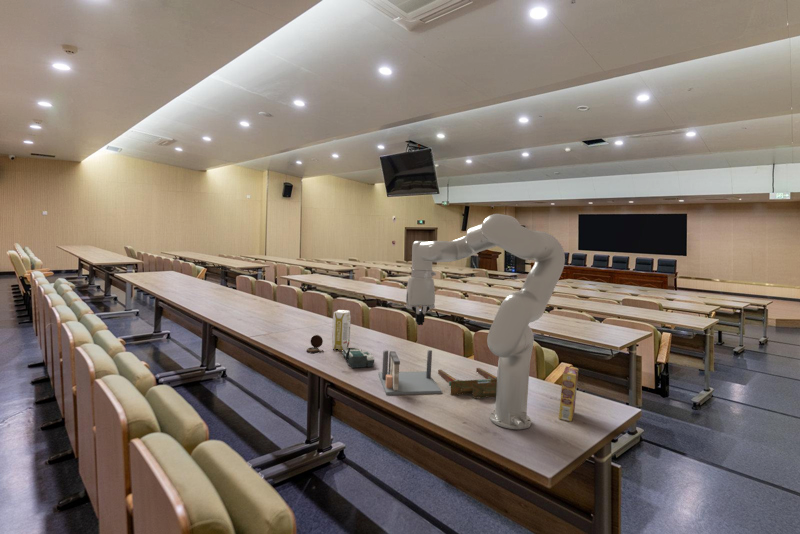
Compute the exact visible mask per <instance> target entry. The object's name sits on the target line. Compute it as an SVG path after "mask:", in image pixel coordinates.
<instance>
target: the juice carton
mask: <svg viewBox="0 0 800 534" xmlns="http://www.w3.org/2000/svg"><path fill="white" fill-rule="evenodd" d="M332 315H333V316H332V332H331V333H332V336H331V337H332V338H331V339H332V341H331V345H332V346H331V347H332V350H333V349H338V350H337V351H341V350H344V349H345V348H350V342H351V341H350V340H351V320H352V319H351V311H350V310H346V309H338V310H336V311H333V314H332Z"/></svg>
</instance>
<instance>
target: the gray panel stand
mask: <svg viewBox="0 0 800 534" xmlns="http://www.w3.org/2000/svg"><path fill="white" fill-rule="evenodd" d="M426 353H427V355H426V356H427V357H426V370H423V371H417V370H416V371H399V384H398V390H394V389H393V387H392V375H389V350H387V349H385V350H383V351H382V369H381V371H379V372H378V377H379V380H380V382H381V385H382V388H383V390H384V393H385V395H386V396H391V395H395V396H396V395H397V396H399V395H429V394H431V395H432V394H434V395H435V394H442V392H443V390H442V389H441V387H439V385H438V384H437V383H436V382H435V380H434V379H433V377H432V363H433V362H432V359H433V358H432V357H433V350H431V349H430V350H429V349H428V350H427V352H426Z"/></svg>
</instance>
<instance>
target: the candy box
mask: <svg viewBox="0 0 800 534" xmlns="http://www.w3.org/2000/svg"><path fill="white" fill-rule="evenodd" d="M578 377H579V368H577V367H574V366H573V367H572V366H565V368H564V371H563V373H562V381H561V391H560V399H559V400H560V402H559V411H558V419H560V420H562V421H566V422H572V421H573V417H574V415H575V412H576V411H575V409H576V399H577V388H578Z"/></svg>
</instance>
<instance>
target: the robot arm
mask: <svg viewBox="0 0 800 534" xmlns="http://www.w3.org/2000/svg"><path fill="white" fill-rule="evenodd" d="M411 247H412V249H411V251H412V252H411V275H410V277H409V278H408V281H407V286H406V295H405V302H406V305H405V308H406V309H408V310H412V311H413V312H414V313H415V323H416V325H418V326H423V325H424V323H425V315H426V314H427V312H428V311H429V310H433V309H435V308H436V307H435V303H436V289H435V281H434V278H433V277H434V276H436V275H437V273H436V271H433V263H452V262H456V261H459V260H462V259H463V260H464V259H466V258H469V257H471V256H474V255H477V254H478V253H479V252H480V253H481V252H483V251H486V250H489V249H493V248H496V247H498V248H500V249H501V250H503V251H506V252H507V253H509V254H511V255H513V256H514V257H517V258H519V259H521V260H526V261H533V260H534V264H533V266H532V267H531V269H530V270H529V272H528V274H527V276H526V278H525V281H524V283H523V284H522V286H521V288H520V290H519V291H516V292H512V293H510V294H508V295H507V296H506V297H505V298H504V299H503V301H502V302H501V304H500V305H499V307H498V311H497V312H496V314H495V317H494V319H493V321H492V324H491V326H490V328H489V330H488V333H487V337H486V339H487V342H486V343H487V347H488V348H489V350H490V352H491V354H493V355H494V356H496V357H498V362H497V363H498V364H497V373H496V374H497V375H496V377H497V388H496V397H495V408H494V409H495V410H492V411H491V412H490V413H489V418H490V420H491V422H492V423H493V424H495V425H497V426H499V427H501V428H504V429H509V430H525V429H528V428H530V427H531V426H532V418H531V417H530V416H529V415H528V400H529V399H528V397H529V396H528V394H529V381H530V370H531V369H530V368H531V367H530V366H531V358H532V353H533V347H534V342H535V341H534V338H535V337H534V332H533V329H532V328H531V327H530V325H529V324H531V323H533V322H537V321H538V320H539V319H540V318H541V317H542V316H543V315H544V312H545V311H546V308H547V306H548V303H549V302H550V299H551V297H552V296H553V294H554V291H555V288H556V286H557V284H558V283H559V279H560V277H561V275H562V273H563V271H564V268H565V264H566V263H565V262H566V255H565V250H564V248H563V246H562V244H561V242H560V241H559V240H558V238H556V237H555V236H554V235H552V234H551V233H549V232H547V231H543V230H542V231H541V230H532V229H529V228H528V227H525V226H522V225H521V223H520V221H518V219H517V218H515V217H514V216H511V215H507V214H501V213H493V214H490V215H488V216H487V217H486V218H485V219H484V220H483V222H482V223H480V224H477V225H475V226H471V227H469V228H468V229H467V231H466V235H465V236H462V237H459V238H457V239H454V240H450V241H449V240H432V241H429V240H415V241H413V243H412V246H411ZM420 307H421V309H420Z"/></svg>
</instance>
